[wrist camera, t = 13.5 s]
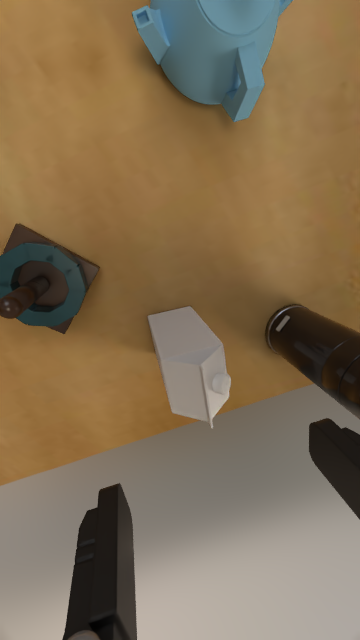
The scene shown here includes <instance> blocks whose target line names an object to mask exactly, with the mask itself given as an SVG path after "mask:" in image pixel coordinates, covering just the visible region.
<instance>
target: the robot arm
mask: <svg viewBox="0 0 360 640" xmlns="http://www.w3.org/2000/svg"><path fill="white" fill-rule="evenodd" d="M266 341H267V343H268V345H269V347H270V348H271V349H273V350H274V351H275V352H276V353H278V354H280V355H281V356H282V357H283V358H284V359H286V360H287V361H288V362H289V363H290V364H292V365H293V366H294V367H295V368H297V369H298V370H299V371H300V372H301V373H303V374H304V375H305V376H306V377H308V378H309V379H310V380H311V381H312V382H314V383H315V384H316V385H317V386H319V387H320V388H321V389H322V390H324V391H325V392H326V393H327V394H329V395H330V396H331V397H332V398H334V399H335V400H336V401H337V402H338V403H340V404H341V405H342V406H343V407H345V408H346V409H347V410H348V411H349V412H351V413H352V414H353V415H355V416H356V417H357V418H358V419H360V333H359V332H357V331H355V330H353V329H350V328H348V327H346V326H344V325H342V324H339V323H337V322H335V321H333V320H330V319H328V318H326V317H324V316H322V315H319V314H317V313H315V312H313V311H311V310H309V309H308V308H306V307H303V306H301V305H288V306H285V307H283V308H281V309H280V310H278V311H277V312H276V313H275V314H274V315H273V316H272V317H271V319H270V320H269V322H268V325H267V328H266ZM309 452H310V455H311V458H312V460H313V461H314V463H315V465H316V466H317V467H318V469H319V470H320V471H321V472H322V474H323V475H324V476H325V477H326V478H327V480H328V481H329V482H330V483H331V485H332V486H333V487H334V488H335V490H336V491H337V492H338V493H339V495H340V496H341V497H342V498H343V499H344V501H345V502H346V503H347V504H348V506H349V507H350V508H351V509H352V510H353V512H354V513H355V514H356V515H357V517H358V518H359V519H360V435H359V434H357V433H356V432H354V431H352V430H350V429H348V428H342V429H341V428H340V427H339V426H338V425H336V424H335V423H334V422H333V421H332V420H331V419H328V418H326V419H323V420H320V421H317V422H313V423H311V424H310V426H309ZM63 640H137V628H136V601H135V575H134V550H133V525H132V517H131V512H130V508H129V506H128V503H127V500H126V498H125V495H124V492H123V489H122V487H121V485H120V483H119V484H115V485H113V486H109V487H106V488H103V489H101V490H100V491H99V496H98V507H97V508H95V509H91V510H88V511H87V512H86V515H85V517H84V519H83V521H82V523H81V525H80V528H79V534H78V541H77V549H76V556H75V565H74V570H73V577H72V584H71V591H70V599H69V606H68V613H67V621H66V628H65V633H64V636H63Z"/></svg>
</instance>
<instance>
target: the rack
mask: <svg viewBox="0 0 360 640" xmlns="http://www.w3.org/2000/svg"><path fill="white" fill-rule="evenodd" d="M27 242H40V243H48V244H56V245H58V244H57V243H55V242H53V241H51V240H49V239H47V238H45V237H44V236H42V235H40V234H38V233H36V232H34V231H33V230H31V229H29V228H27V227H25V226H23V225H21V224H16V225H15V227H14V229H13V231H12V234H11V236H10V238H9V240H8V243H7V245H6V247H5V249H4V252H3V254H4V253H6V252H8V251H10V250H11V249H13V248H15V247H17V246H18V245H20V244H22V243H27ZM59 246H60V245H59ZM61 247H62V246H61ZM63 248H64V247H63ZM64 249H65V250H66V251H67V252H69V253H70V254H71V255H72V256H74V257H75V258H76V259H77V260H79V261H80V264H82V267H83V270H84V273H85V277H86V280H87V283H88V289H89V287H90V285H91V283H92V281H93V279H94V277H95V276H96V274H97V272H98V270H99V268H100V267H99V266H97V265H95V264H93V263H92V262H90V261H88V260H86V259H84V258H82V257H81V256H79V255H77V254H75V253H73V252H71V251H69V250H68V249H66V248H64ZM3 254H2V255H3ZM18 282H19V284H20V287H19V288H17V289H15V290H14V291H12V292H10V293H9V294H7V295H5V296H4V297H2V298H1V299H0V315H1V316H2V317H4V318H8V319H13V318H16V317H18V316H20V315H21V314H22V313H23V312H24V311H25V310H26V309H27V308H29V307H30V306H31V305H32V304H33V303H36V304H37V305H41V306H56V305H58V304H59V303H61V302H63V301H65V299H66V297H67V294H68V291H69V288H68V285H67V282H66V279H65V276H64V274H63V273H62V272H61V271H59V270H58V269H57V268H56V267H54V266H53V265H52V264H50V263H49V262H40V261H30V262H29V263H27V264H25V265H23V267H22V270H21V273H20V276H19V279H18ZM87 291H88V290H87ZM86 293H87V292H86ZM73 317H74V316H73ZM73 317H72V318H70V319H68V320H66V321H65V322H63V323H61V324H59V325H58V326H54V327H50V326H46V327H49V328H51V329H53V330H56V331H58V332H60V333H63V334H65V332H66V330H67V329H68V327H69V325H70V323H71V321H72V319H73Z"/></svg>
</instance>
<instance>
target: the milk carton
mask: <svg viewBox="0 0 360 640" xmlns="http://www.w3.org/2000/svg"><path fill="white" fill-rule="evenodd" d="M148 322H149V326H150V330H151V335H152V339H153V344H154V348H155V352H156V356H157V360H158V363H159V367H160V371H161V374H162V378H163V381H164V385H165V389H166V392H167V396H168V400H169V403H170V407H171V410H172V413H175V414H179V415H183V416H187V417H190V418H194V419H198V420H202V421H206V422H208V423H209V425H210V427H211V429H213V423H212V418H213V417H214V416H215V415H216V413H217V412H218V411H219V409H220V408H221V407H222V406H223V404H224V403H225V402H226V401H227V399H228V398H229V389H230V386H231V378H230V376H229V375H228V374H227V371H226V362H225V354H224V347H223V344H222V342H221V341H220V340H219V339H218V337H217V336H216V335H215V334H214V333H213V332H212V330H211V329H210V328H209V327H208V326H207V325H206V324H205V322H204V321H203V320H202V319H201V318H200V317H199V315H198V314H197V313H196V312H195V311H194V310H193V308H192V307H191V306H188V307H183V308H179V309H175V310H170V311H166V312H162V313H157V314H153V315H149V316H148Z"/></svg>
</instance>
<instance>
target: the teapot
mask: <svg viewBox="0 0 360 640" xmlns="http://www.w3.org/2000/svg"><path fill="white" fill-rule="evenodd" d="M292 1H293V0H151V3H150V8H148V5H147V6H144V7H142V8H140V9H138V10H136V11H134V12H132V16H133V19H134V22H135V25H136V27H137V30H138V32H139V34H140V36H141V37H142V39H143V41H144V42H145V44H146V46H147V47H148V49H149V51H150V53H151V54H152V56H153V58H154V59H155V61H156V63H157V64H160V65H161V67H162V69H163V71H164V73H165V74H166V76H167V77H168V79H169V80H170V82H171V83H172V84H173V85H174V86H175V87H176V88H177V89H178V90H179V91H180V92H181V93H182V94H183V95H185V96H186V97H188V98H190V99H191V100H193V101H196V102H199V103H203V104H212V105H214V104H222V106H223V107H224V109H225V110H226V112H227V113H228V115H229V116H230V117H231V119H232V120H233V122H236V121H239V120H243V119H246V118H248V117H249V115H250V113H251V111H252V109H253V107H254V105H255V103H256V101H257V99H258V97H259V95H260V93H261V91H262V89H263V87H264V85H265V83H264V79H263V74H262V70H261V69H262V67H263V65H264V63H265V61H266V59H267V56H268V54H269V51H270V49H271V46H272V43H273V39H274V35H275V31H276V27H277V21H278V17H279V16H280V15H281V13H282V12H283V11H284V10H285V9H286V8H287V6H288V5H289V4H290V3H291V2H292Z"/></svg>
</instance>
